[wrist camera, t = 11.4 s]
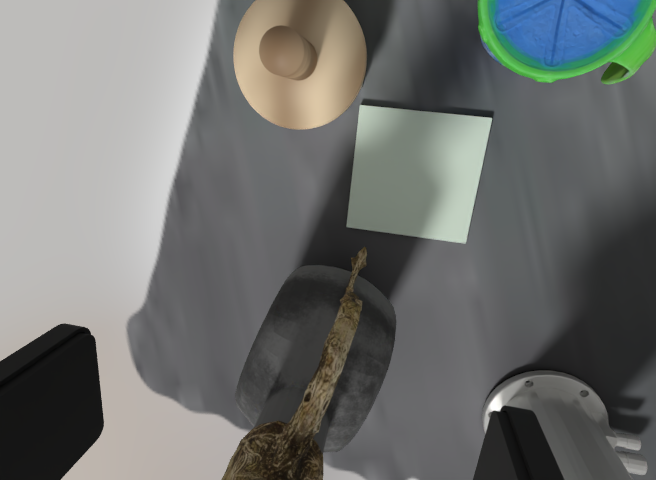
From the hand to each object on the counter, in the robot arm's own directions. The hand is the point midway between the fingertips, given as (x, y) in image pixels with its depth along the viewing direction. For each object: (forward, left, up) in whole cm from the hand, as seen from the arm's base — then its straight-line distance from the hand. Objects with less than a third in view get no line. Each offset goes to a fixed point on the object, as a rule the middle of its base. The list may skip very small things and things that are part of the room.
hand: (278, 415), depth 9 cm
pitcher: (+2, +13, -34) cm, 36 cm away
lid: (+7, -10, -29) cm, 31 cm away
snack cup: (-11, -15, -34) cm, 38 cm away
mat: (-4, -1, -33) cm, 34 cm away
